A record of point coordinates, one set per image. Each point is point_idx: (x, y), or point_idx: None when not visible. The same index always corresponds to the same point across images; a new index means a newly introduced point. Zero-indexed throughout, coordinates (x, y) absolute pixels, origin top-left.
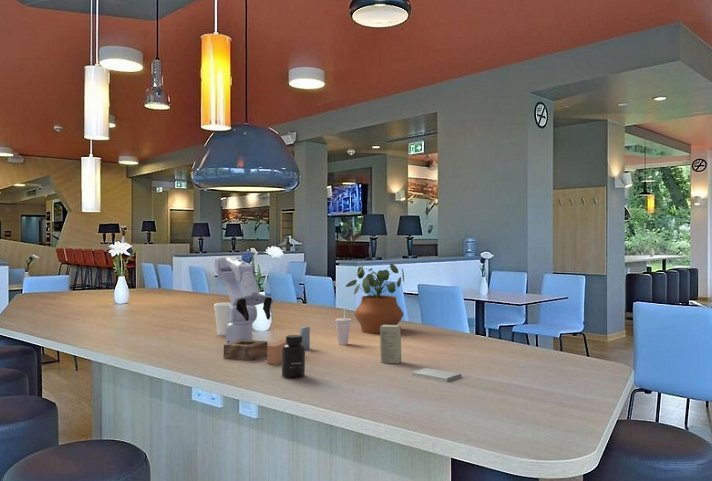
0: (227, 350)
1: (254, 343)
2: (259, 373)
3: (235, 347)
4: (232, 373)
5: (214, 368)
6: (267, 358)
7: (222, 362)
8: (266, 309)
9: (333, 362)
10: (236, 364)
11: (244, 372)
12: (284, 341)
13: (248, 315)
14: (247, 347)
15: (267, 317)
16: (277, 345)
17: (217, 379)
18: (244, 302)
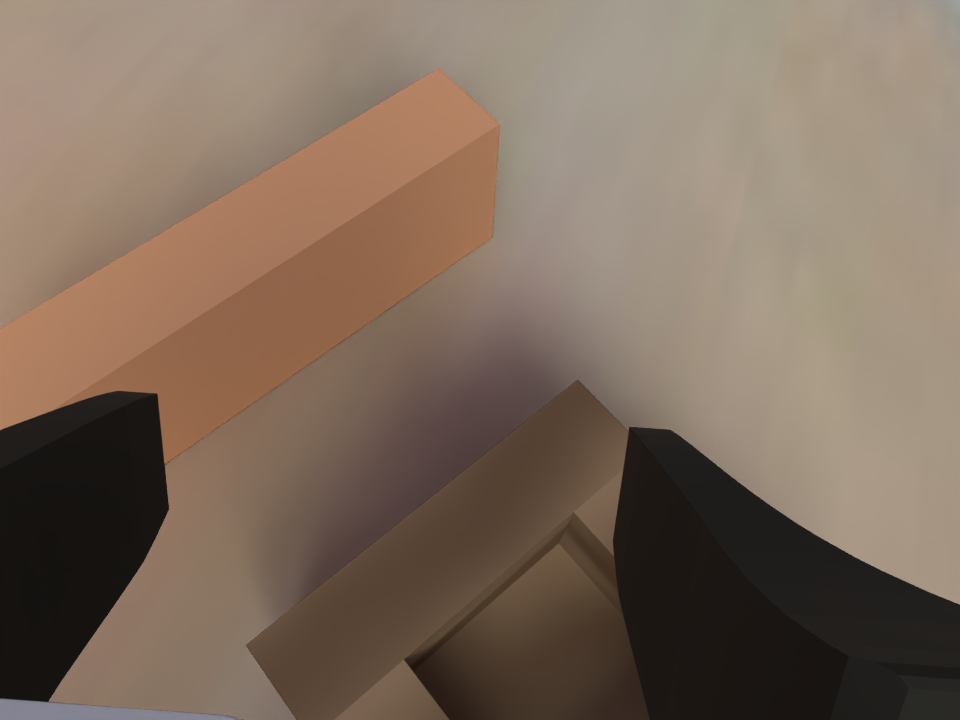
0: None
1: (473, 577)
2: (647, 34)
3: None
4: (825, 106)
5: (946, 296)
6: (493, 204)
7: (855, 486)
8: (14, 571)
9: (12, 65)
10: (741, 345)
11: (738, 94)
12: (221, 234)
13: (645, 437)
14: (619, 430)
15: (152, 491)
16: (404, 90)
17: (940, 24)
18: (848, 618)
